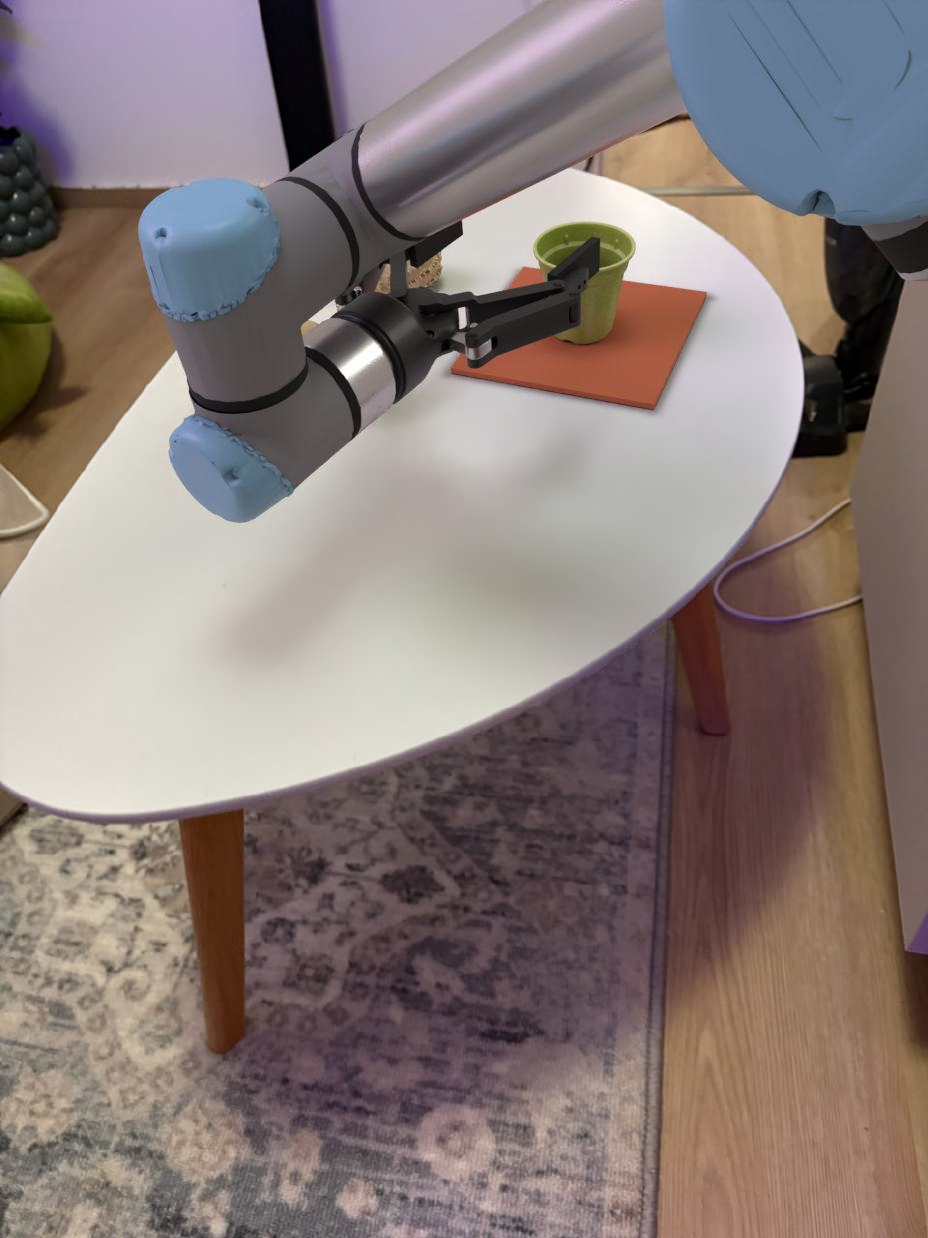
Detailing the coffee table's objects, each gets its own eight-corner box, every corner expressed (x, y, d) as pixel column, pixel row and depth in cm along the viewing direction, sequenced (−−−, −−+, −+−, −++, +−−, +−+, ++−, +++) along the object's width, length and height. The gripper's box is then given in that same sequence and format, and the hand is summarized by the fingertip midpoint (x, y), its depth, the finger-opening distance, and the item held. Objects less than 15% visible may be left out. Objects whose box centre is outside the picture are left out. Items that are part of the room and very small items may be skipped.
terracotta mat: (706, 296, 96) (706, 291, 96) (653, 409, 85) (653, 404, 84) (523, 271, 102) (523, 266, 102) (450, 373, 91) (450, 367, 90)
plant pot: (606, 295, 97) (609, 212, 90) (646, 341, 91) (653, 256, 84) (521, 316, 95) (518, 233, 89) (556, 364, 89) (556, 279, 83)
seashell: (397, 336, 101) (461, 269, 101) (369, 299, 96) (436, 228, 96) (358, 308, 105) (420, 244, 105) (330, 271, 100) (395, 203, 100)
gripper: (250, 361, 75) (412, 245, 86) (506, 460, 64) (656, 314, 75) (224, 273, 70) (401, 161, 80) (500, 366, 59) (663, 222, 69)
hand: (524, 234), depth 78 cm, fingers open, 13 cm apart
